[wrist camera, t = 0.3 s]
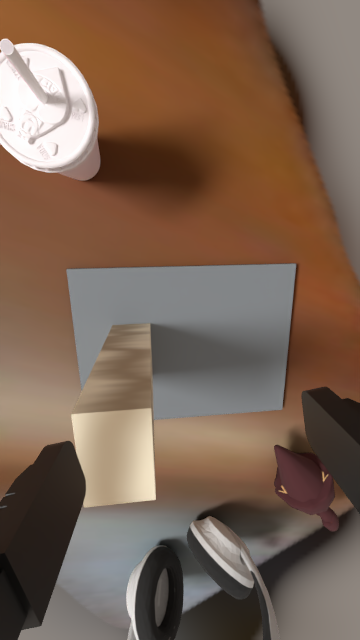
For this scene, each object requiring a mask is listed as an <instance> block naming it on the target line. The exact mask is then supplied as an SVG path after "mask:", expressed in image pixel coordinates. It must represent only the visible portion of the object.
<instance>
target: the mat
mask: <svg viewBox="0 0 360 640" xmlns="http://www.w3.org/2000/svg"><path fill="white" fill-rule="evenodd" d="M295 271H296V264H294V263H293V264H250V265H208V266H165V267H122V268H79V269H67V277H68V285H69V293H70V301H71V309H72V317H73V325H74V334H75V342H76V350H77V358H78V366H79V374H80V382H81V390H83V388H84V385H85V383H86V381H87V379H88V377H89V375H90V373H91V370H92V368H93V366H94V364H95V362H96V360H97V357H98V355H99V353H100V351H101V349H102V347H103V344H104V342H105V340H106V338H107V336H108V334H109V332H110V329H111V327H112V325H123V324H146V323H150V329H151V351H152V373H153V412H154V420H158V419H170V418H183V417H195V416H208V415H221V414H233V413H246V412H258V411H271V410H282V406H283V395H284V385H285V375H286V364H287V354H288V344H289V333H290V323H291V313H292V302H293V292H294V282H295Z"/></svg>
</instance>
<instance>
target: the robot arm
mask: <svg viewBox="0 0 360 640" xmlns="http://www.w3.org/2000/svg"><path fill="white" fill-rule="evenodd" d="M302 405H303V414H304V423H305V431H306V435H307V439H308V441H309V444H310V446H311V448H312V449H313V451H314V452H315V454H316V455H317V456H318V458H319V459H320V460H321V462H322V463H323V464H324V466H325V467H326V469H327V470H328V471H329V473H330V474H331V475H332V477H333V478H334V479H335V481H336V482H337V484H338V485H339V486H340V488H341V489H342V490H343V492H344V493H345V494H346V496H347V497H348V499H349V500H350V501H351V503H352V504H353V505H354V507H355V508H356V509H357V511H358V512H359V514H360V403H358V402H356V401H353V400H351V399H349V398H346V399H341V398H340V397H339V396H337V395H336V394H335V393H334V392H333V391H331V390H330V389H329V388H328V387H321V388H316V389H312V390H307V391H303V392H302ZM85 494H86V480H85V476H84V473H83V470H82V468H81V465H80V462H79V459H78V457H77V454H76V451H75V448H74V446H73V444H72V443H71V442H70V441H65V442H61V443H56V444H51V445H47V446H45V447H44V448H43V450H42V451H41V453H40V454H39V456H38V458H37V459H36V461H35V462H34V464H33V465H30V466H29V467H28V468H27V469H26V470H25V471H24V472H23V473H22V474H20V475H19V476H18V477H17V478H16V479H15V481H14V482H13V484H12V485H11V487H10V488H9V490H8V491H7V493H6V494H5V495H6V496H5V497H3V499H2V500H1V502H0V640H18V637H19V635H20V632H21V630H24V629H29V628H34V627H38V626H41V625H42V622H43V619H44V616H45V613H46V610H47V607H48V604H49V601H50V598H51V595H52V592H53V590H54V587H55V584H56V581H57V578H58V575H59V572H60V569H61V566H62V563H63V560H64V557H65V554H66V551H67V549H68V546H69V543H70V540H71V537H72V534H73V531H74V528H75V525H76V522H77V519H78V516H79V513H80V510H81V507H82V505H83V502H84V499H85Z"/></svg>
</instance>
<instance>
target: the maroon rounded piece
mask: <svg viewBox="0 0 360 640" xmlns="http://www.w3.org/2000/svg"><path fill="white" fill-rule="evenodd" d="M274 449H275V455H276V459H277V464H278V468H277V474H276V479H275V481H274V485H275V487H276V489H275V492H276V494H277V495H278V496H279V497H280V498H282V499H283V500H284V501H285V502H286V503H287V504H288V505H290V506H291V507H292V508H295V509H297V510H300V511H302V512H305V513H307V514H310V515H313V514H317V515H319V516H320V517H321V519H322V523H323V525H324V526H325V527H327V529H329V530H330V531H336V530H337V529H338V527H339V520H338V517H337V515H336V514H335V512H334V511H333V510H332V509H330V507H329V506H330V504H331V503H332V501H333V499H334V497H335V492H334V483H333V478H332V475H331V474H330V473H329V471H328V470H327V469H326V467H325V466H324V464H323V463H322V462H321V460H320V459H319V458H318V456H316V455H315V454H313V453H294V452H292V451H290V450H288V449H286V448H283V447H281V446H279V445H275V446H274Z"/></svg>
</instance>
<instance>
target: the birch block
mask: <svg viewBox="0 0 360 640" xmlns="http://www.w3.org/2000/svg"><path fill="white" fill-rule="evenodd" d="M71 417H72V424H73V431H74V438H75V445H76V453H77V457H78V459H79V462H80V465H81V468H82V470H83V473H84V476H85V480H86V494H85V499H84V502H83V503H84V507H93V506H102V505H111V504H121V503H130V502H139V501H148V500H156V492H155V452H154V412H153V373H152V351H151V329H150V323H146V324H123V325H112V327H111V329H110V332H109V334H108V336H107V338H106V340H105V342H104V344H103V347H102V349H101V351H100V353H99V355H98V357H97V360H96V362H95V364H94V366H93V368H92V370H91V373H90V375H89V377H88V379H87V381H86V383H85V385H84V388H83V390H82V392H81V394H80V396H79V398H78V401H77V403H76V405H75V407H74V409H73V411H72V413H71Z"/></svg>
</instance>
